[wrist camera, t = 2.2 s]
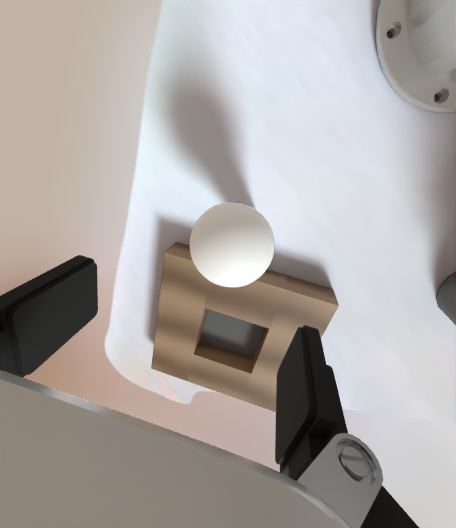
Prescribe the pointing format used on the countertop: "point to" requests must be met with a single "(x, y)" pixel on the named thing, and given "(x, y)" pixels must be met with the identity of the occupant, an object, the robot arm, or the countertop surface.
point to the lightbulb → (232, 244)
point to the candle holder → (448, 297)
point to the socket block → (232, 327)
